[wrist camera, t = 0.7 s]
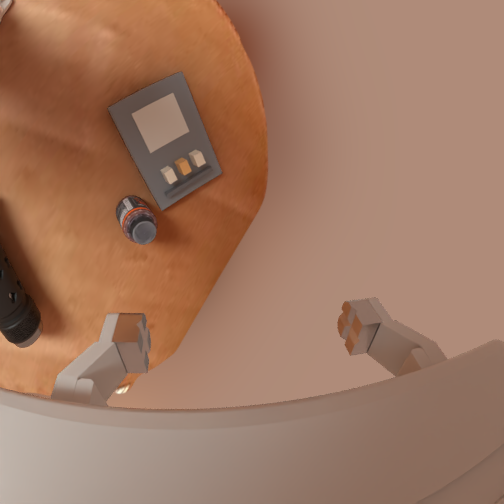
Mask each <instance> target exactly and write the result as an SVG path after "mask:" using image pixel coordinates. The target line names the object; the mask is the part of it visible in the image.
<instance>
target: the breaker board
mask: <svg viewBox="0 0 504 504" xmlns="http://www.w3.org/2000/svg"><path fill="white" fill-rule="evenodd" d="M107 109H108V111H109V113H110V115H111V117H112V119H113V121H114V123H115V125H116V127H117V129H118V131H119V133H120V135H121V137H122V139H123V141H124V143H125V145H126V147H127V149H128V151H129V153H130V155H131V157H132V159H133V161H134V162H135V164H136V166H137V168H138V170H139V172H140V174H141V176H142V177H143V179H144V181H145V183H146V185H147V187H148V188H149V190H150V192H151V194H152V196H153V197H154V199H155V201H156V203H157V205H158V206H159V208H160V209H161V210H162V211H163V210H164V209H166V208H167V207H169V206H170V205H172V204H173V203H175V202H176V201H178V200H179V199H181V198H183V197H184V196H186V195H187V194H189V193H191V192H192V191H194V190H195V189H197V188H199V187H200V186H202V185H203V184H205V183H207V182H208V181H210V180H212V179H213V178H215V177H217V176H218V175H220V174H222V171H221V168H220V166H219V163H218V161H217V158H216V156H215V153H214V150H213V148H212V145H211V143H210V140H209V138H208V135H207V133H206V130H205V128H204V125H203V123H202V120H201V118H200V115H199V113H198V110H197V108H196V105H195V103H194V100H193V98H192V95H191V93H190V90H189V88H188V85H187V83H186V80H185V78H184V75H183V73H182V72H178V73H175V74H173V75H171V76H169V77H166V78H164V79H162V80H160V81H158V82H156V83H153V84H151V85H149V86H147V87H145V88H143V89H141V90H139V91H137V92H135V93H133V94H131V95H130V96H128V97H126V98H124V99H122V100H120V101H118V102H117V103H115V104H113V105H111V106H110V107H108V108H107Z"/></svg>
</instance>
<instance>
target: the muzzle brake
mask: <svg viewBox="0 0 504 504" xmlns="http://www.w3.org/2000/svg"><path fill="white" fill-rule="evenodd" d="M42 329H43V323H42V320H41V315H40V311H39V310H38V308H37V306H36V305H35V303H34V302H33V300H32V298H31V297H30V296H29V295H27V294H26V293H25V290H24V287H23V286H22V284H21V282H20V281H19V279H18V277H17V275H16V273H15V272H14V270H13V268H12V266H11V264H10V262H9V260H8V258H7V256H6V254H5V252H4V250H3V248H2V246H1V244H0V331H1V332H2V334H3V335H4V336H5V338H6V339H7V340H8V341H9V342H11V343H14V344H15V345H16V346H17V347H20V348H25V347H28V346H30V345H32V344H33V343H34V342H35V341H36V340H37V339H38V338H39V336H40V334H41V332H42Z"/></svg>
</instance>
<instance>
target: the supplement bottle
mask: <svg viewBox="0 0 504 504" xmlns="http://www.w3.org/2000/svg"><path fill="white" fill-rule="evenodd" d="M116 216H117V219H118V221H119V223H120V226H121V228H122V230H123V232H124V234H125V236H126V237H127V238H128V239H129V240H130V241H132V242H135V243H138V244H142V245H144V244H148V243H150V242H151V241H152V240H153V239H154V238H155V236H156V229H157V220H156V217H155V215H154V214H153V212H152V211H151V210H150V209H149V208H148V206H147V205H146V204H145V202H144V201H143V200H142V199H141V198H139V197H137V196H127V197H125V198H123V199H122V200H121V201H120V202H119V204H118V205H117V208H116Z"/></svg>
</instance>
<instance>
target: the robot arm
mask: <svg viewBox="0 0 504 504" xmlns="http://www.w3.org/2000/svg"><path fill="white" fill-rule="evenodd" d="M11 3H12V0H2V1H1V0H0V22H1V19H2V17H3V15H4V14H5V12H6V11H7V10H8V8H9V7H10V5H11ZM342 310H343V313H342V314H341V315H340V316H339V319H338V331H339V334H340V336H341V337H342V338H343V339H345V340H346V342H345V346H346V348H347V350H348V352H349V354H350V355H357V354H363V353H367V354H368V355H369V356H371V357H372V358H373V359H374V360H376V361H377V362H378V363H380V364H381V365H382V366H383V367H385V368H386V369H387V370H388V371H390V372H391V373H392V374H393V375H395V376H396V377H395V378H391V379H388V380H384V381H381V382H377V383H373V384H369V385H366V386H362V387H358V388H353V389H349V390H344V391H340V392H335V393H330V394H326V395H320V396H315V397H309V398H304V399H297V400H291V401H284V402H277V403H269V404H260V405H250V406H240V407H228V408H227V407H226V408H210V409H138V408H122V407H109V406H108V405H107V403H106V401H107V400H108V398H109V397H110V396H111V395H112V393H113V392H114V391H115V390H116V388H117V387H118V386H119V384H120V383H121V382H122V381H123V379H124V378H125V377H126V376H127V373H147V372H148V365H149V358H148V355H147V354H148V353H149V352H150V347H151V338H150V332H149V329H148V328H147V327H146V322H147V320H146V317H145V314H144V313H108V314H107V316H106V319H105V322H104V325H103V329H102V332H101V335H100V338H99V342H95V343H93V344H92V345H91V346H90V347H89V348H88V349H86V350H85V351H84V352H83V353H82V354H81V355H79V356H78V357H77V358H76V359H75V360H74V361H73V362H71V363H70V364H69V365H68V366H67V367H66V368H65V369H64V370H62V371H61V372H60V373H59V374H58V376H57V379H56V382H55V385H54V388H53V392H52V395H51V399H50V398H44V397H39V396H34V395H29V394H25V393H21V392H16V391H12V390H8V389H4V388H1V387H0V504H504V342H502V341H500V340H492V341H490V342H488V343H486V344H484V345H481V346H479V347H477V348H474V349H472V350H470V351H468V352H465V353H463V354H460V355H458V356H456V357H453V358H450V359H447V358H446V356H445V355H444V353H443V352H442V351H441V349H440V348H439V346H438V345H437V344H436V342H434V341H433V340H431V339H429V338H427V337H425V336H424V335H422V334H420V333H418V332H416V331H414V330H413V329H411V328H409V327H407V326H405V325H404V324H402V323H400V322H398V321H396V320H394V321H393V320H392V319H391V317H390V315H389V314H388V313H387V311H386V310H385V309H384V307H383V306H382V304H381V303H380V302H379V300H378V299H377V298H375V297H374V298H367V299H361V300H353V301H345V302H344V304H343V306H342Z"/></svg>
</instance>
